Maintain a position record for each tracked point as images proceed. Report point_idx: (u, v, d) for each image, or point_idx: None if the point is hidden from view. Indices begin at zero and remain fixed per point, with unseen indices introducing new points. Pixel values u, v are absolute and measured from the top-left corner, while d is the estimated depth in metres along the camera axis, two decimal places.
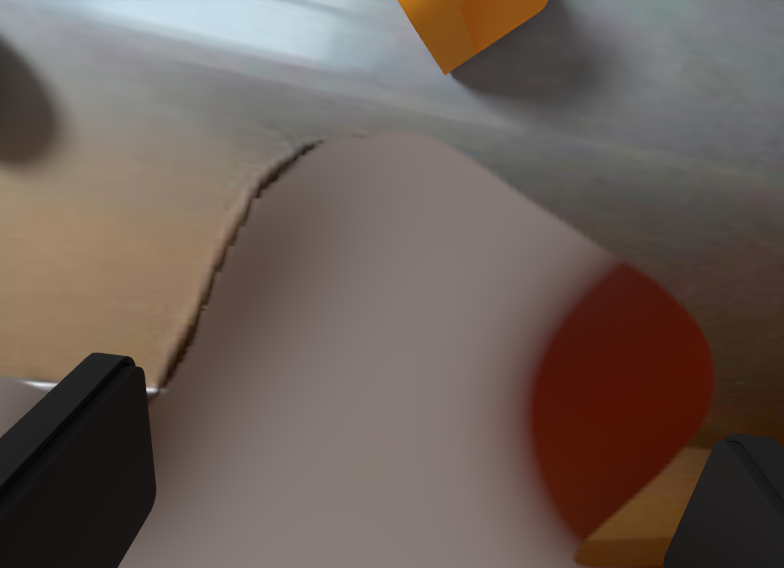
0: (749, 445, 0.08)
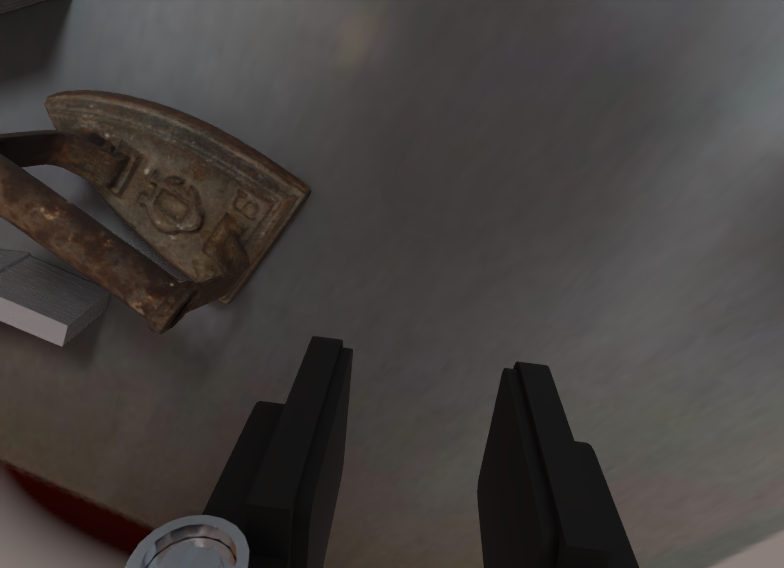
0: (523, 370, 0.09)
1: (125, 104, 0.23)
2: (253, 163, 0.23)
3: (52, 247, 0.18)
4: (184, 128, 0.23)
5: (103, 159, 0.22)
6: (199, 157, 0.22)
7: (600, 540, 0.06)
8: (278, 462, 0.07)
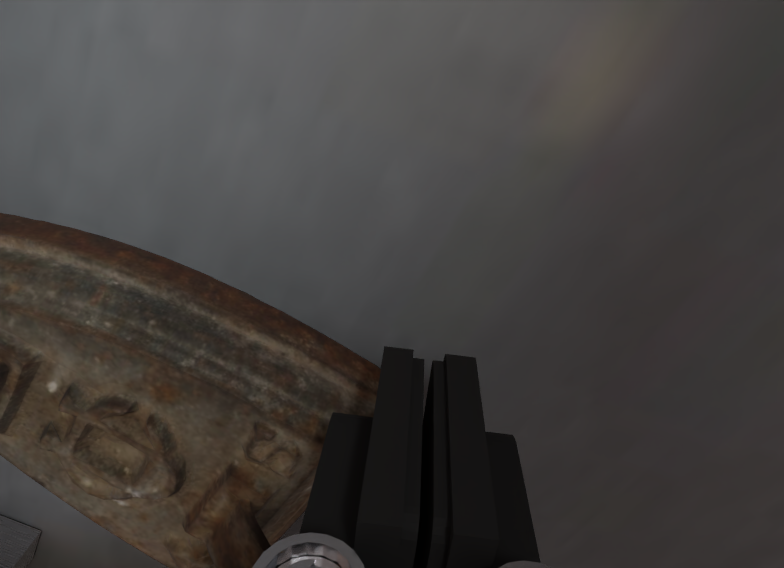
0: (449, 362, 0.09)
1: (0, 242, 0.10)
2: (285, 353, 0.11)
3: None
4: (132, 289, 0.10)
5: None
6: (166, 359, 0.10)
7: (489, 528, 0.06)
8: (379, 478, 0.07)
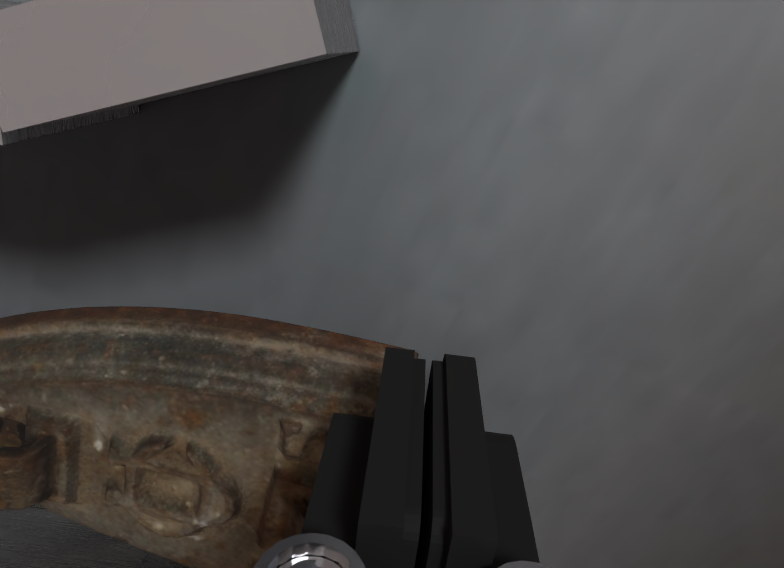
0: (449, 362, 0.09)
1: (19, 332, 0.11)
2: (291, 349, 0.11)
3: None
4: (137, 335, 0.11)
5: None
6: (182, 386, 0.10)
7: (488, 529, 0.06)
8: (381, 479, 0.07)
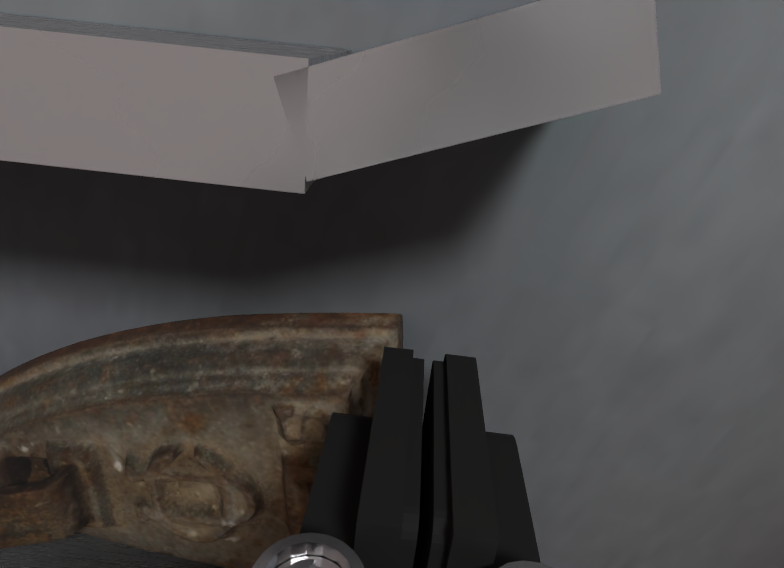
0: (449, 362, 0.09)
1: (28, 375, 0.12)
2: (272, 336, 0.11)
3: None
4: (129, 355, 0.11)
5: (28, 503, 0.11)
6: (174, 393, 0.11)
7: (489, 528, 0.06)
8: (379, 478, 0.07)
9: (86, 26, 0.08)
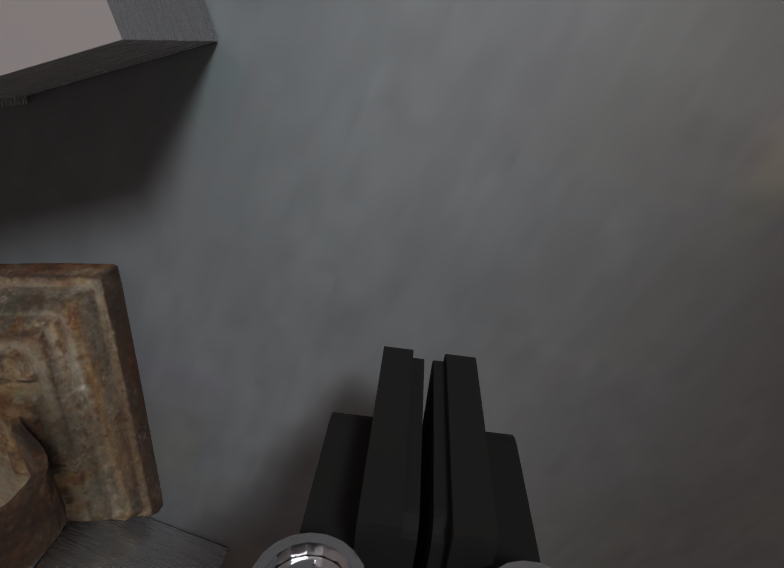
0: (449, 362, 0.09)
1: None
2: None
3: None
4: None
5: None
6: None
7: (489, 529, 0.06)
8: (379, 478, 0.07)
9: None
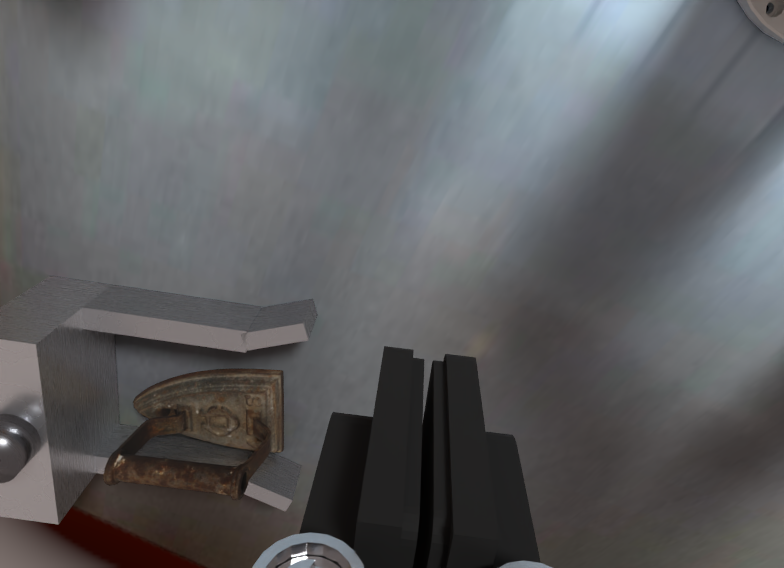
0: (449, 362, 0.09)
1: (169, 384, 0.39)
2: (245, 375, 0.39)
3: (170, 486, 0.34)
4: (202, 379, 0.39)
5: (173, 420, 0.38)
6: (217, 391, 0.38)
7: (489, 529, 0.06)
8: (379, 478, 0.07)
9: (199, 308, 0.35)
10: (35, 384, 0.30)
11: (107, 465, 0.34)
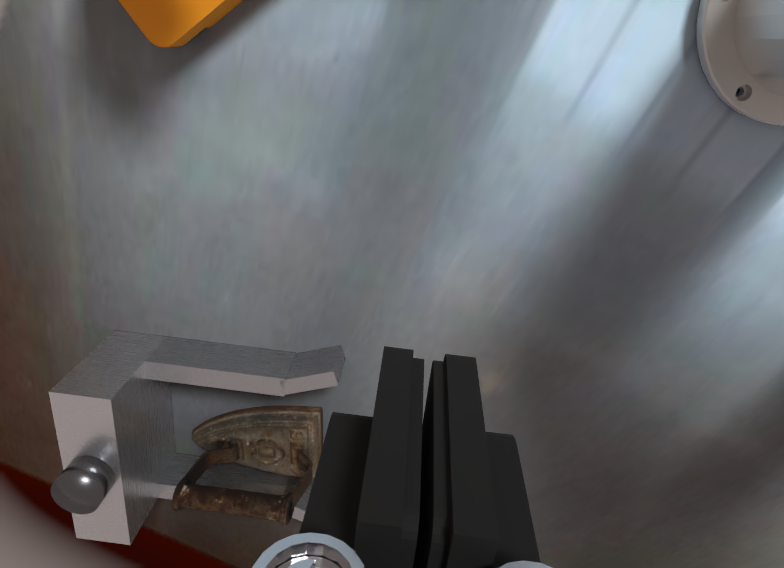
0: (449, 362, 0.09)
1: (223, 419, 0.45)
2: (289, 412, 0.44)
3: (228, 512, 0.40)
4: (252, 415, 0.44)
5: (227, 452, 0.43)
6: (265, 426, 0.43)
7: (489, 529, 0.06)
8: (379, 478, 0.07)
9: (242, 357, 0.41)
10: (110, 431, 0.36)
11: (174, 494, 0.40)
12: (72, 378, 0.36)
